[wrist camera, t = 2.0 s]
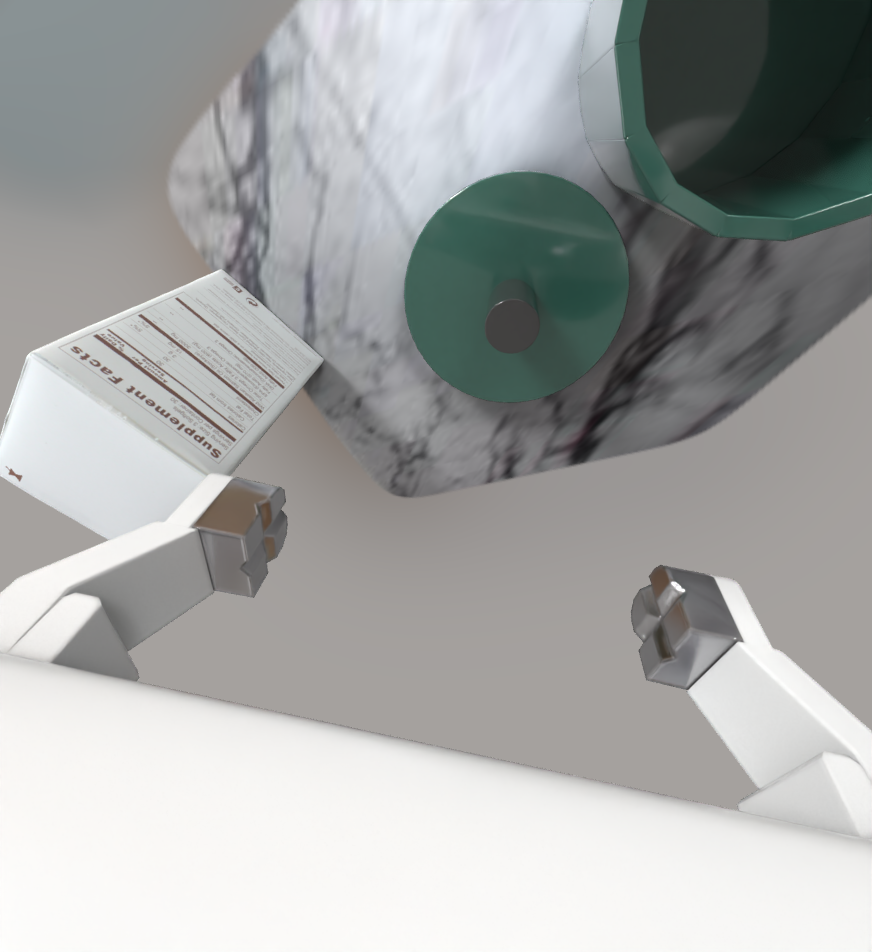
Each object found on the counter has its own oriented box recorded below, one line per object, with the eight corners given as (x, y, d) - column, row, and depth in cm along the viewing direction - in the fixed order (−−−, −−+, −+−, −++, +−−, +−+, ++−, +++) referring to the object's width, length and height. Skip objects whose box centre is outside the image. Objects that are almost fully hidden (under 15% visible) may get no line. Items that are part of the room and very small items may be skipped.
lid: (656, 175, 19) (690, 183, 16) (593, 402, 26) (607, 445, 22) (407, 163, 20) (384, 169, 17) (408, 385, 27) (391, 423, 23)
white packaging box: (268, 428, 30) (148, 569, 20) (169, 351, 28) (-24, 468, 18) (330, 359, 27) (221, 490, 17) (223, 262, 24) (17, 348, 14)
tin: (969, -182, 13) (1440, -515, 7) (792, 212, 19) (939, 250, 13) (618, -174, 14) (714, -460, 7) (555, 200, 20) (577, 229, 14)
